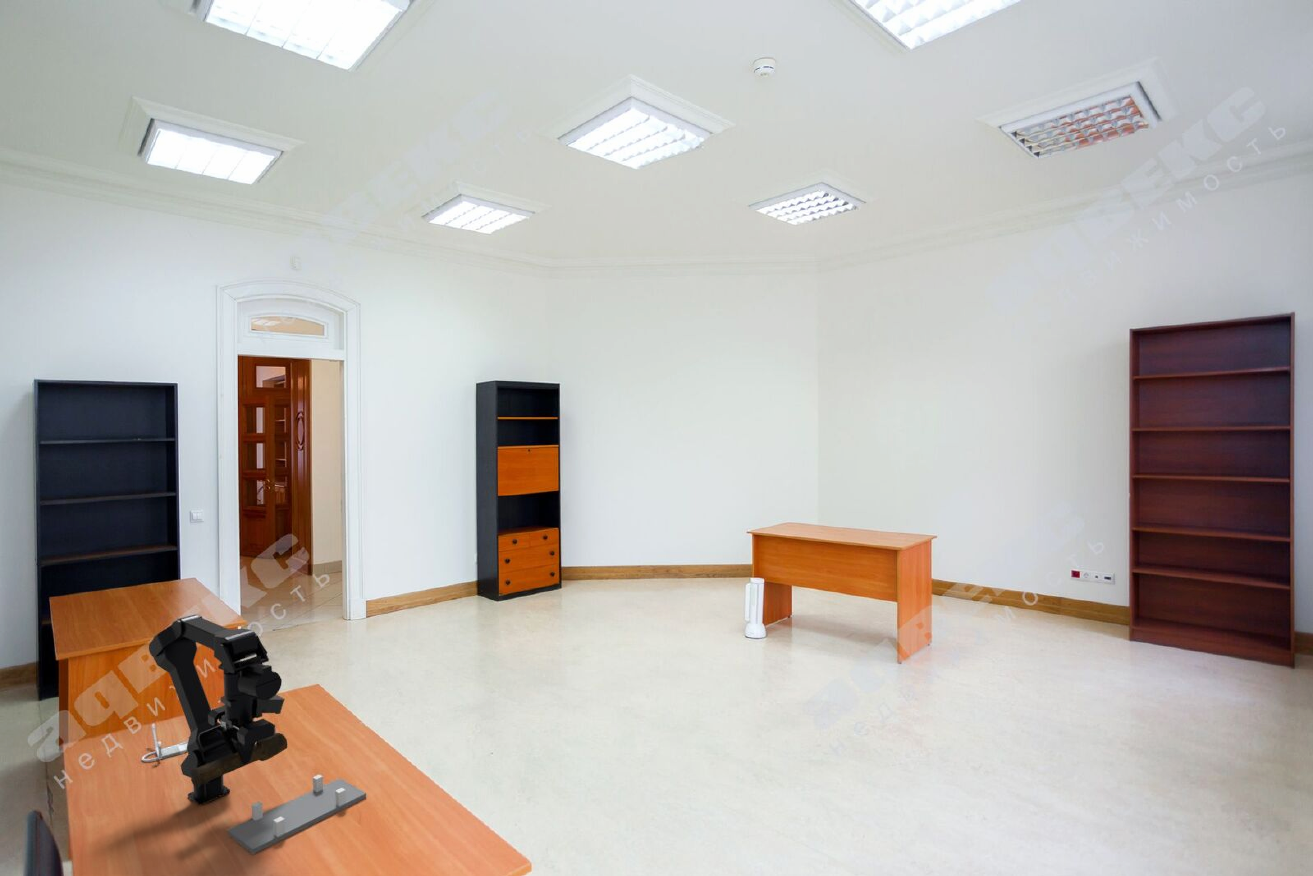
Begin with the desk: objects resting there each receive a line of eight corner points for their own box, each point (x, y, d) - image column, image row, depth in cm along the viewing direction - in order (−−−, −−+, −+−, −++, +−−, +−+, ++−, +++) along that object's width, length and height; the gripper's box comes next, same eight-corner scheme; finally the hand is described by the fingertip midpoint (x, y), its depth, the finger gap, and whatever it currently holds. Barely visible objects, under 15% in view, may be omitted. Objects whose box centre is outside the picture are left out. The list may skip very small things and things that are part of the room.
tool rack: (227, 834, 142) (227, 815, 142) (339, 782, 162) (339, 765, 161) (252, 854, 136) (251, 834, 136) (366, 797, 155) (365, 780, 155)
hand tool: (197, 791, 142) (195, 769, 141) (189, 785, 144) (188, 763, 144) (292, 753, 156) (291, 733, 156) (284, 748, 159) (283, 728, 159)
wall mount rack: (143, 769, 169) (142, 745, 169) (137, 748, 179) (136, 726, 179) (218, 747, 179) (217, 725, 179) (208, 729, 190) (207, 708, 189)
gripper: (299, 688, 151) (301, 758, 151) (258, 669, 162) (261, 735, 162) (244, 706, 142) (247, 781, 142) (205, 685, 153) (208, 754, 153)
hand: (242, 761), depth 150 cm, fingers closed on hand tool, 3 cm apart
